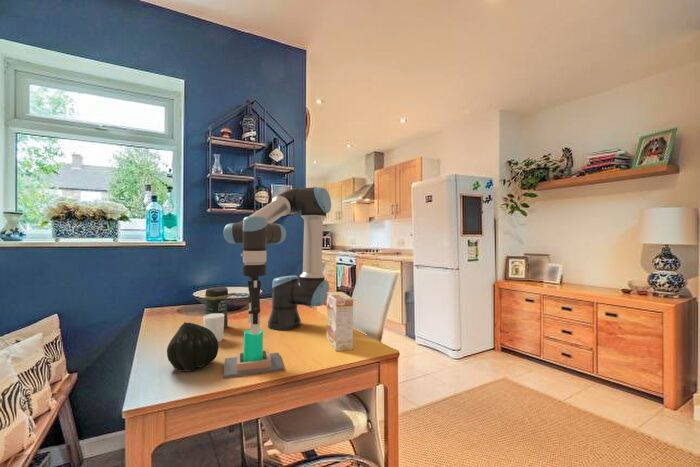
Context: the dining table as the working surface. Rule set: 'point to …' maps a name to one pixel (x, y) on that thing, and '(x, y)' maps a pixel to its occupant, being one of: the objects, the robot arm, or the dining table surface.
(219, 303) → the coffee jar
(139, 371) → the dining table surface
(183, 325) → the squash
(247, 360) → the candle
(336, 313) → the coffeecake box
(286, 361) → the dining table surface
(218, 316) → the white cup
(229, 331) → the dining table surface
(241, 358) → the candle plate
